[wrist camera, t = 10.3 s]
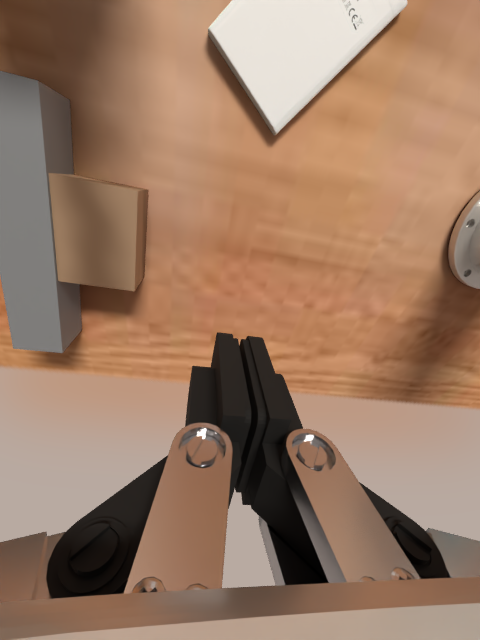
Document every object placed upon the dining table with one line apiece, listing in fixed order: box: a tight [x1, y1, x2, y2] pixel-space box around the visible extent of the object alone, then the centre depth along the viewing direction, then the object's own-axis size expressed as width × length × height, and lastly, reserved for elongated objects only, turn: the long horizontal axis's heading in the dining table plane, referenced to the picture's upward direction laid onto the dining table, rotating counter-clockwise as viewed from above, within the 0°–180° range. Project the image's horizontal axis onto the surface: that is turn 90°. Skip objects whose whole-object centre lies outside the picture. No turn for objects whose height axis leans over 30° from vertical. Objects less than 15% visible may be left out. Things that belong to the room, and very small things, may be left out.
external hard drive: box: [208, 0, 407, 135], centre depth 20 cm, size 2×8×12 cm
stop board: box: [0, 71, 82, 353], centre depth 23 cm, size 4×20×4 cm, turn 169°
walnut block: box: [48, 173, 148, 291], centre depth 23 cm, size 6×8×4 cm
